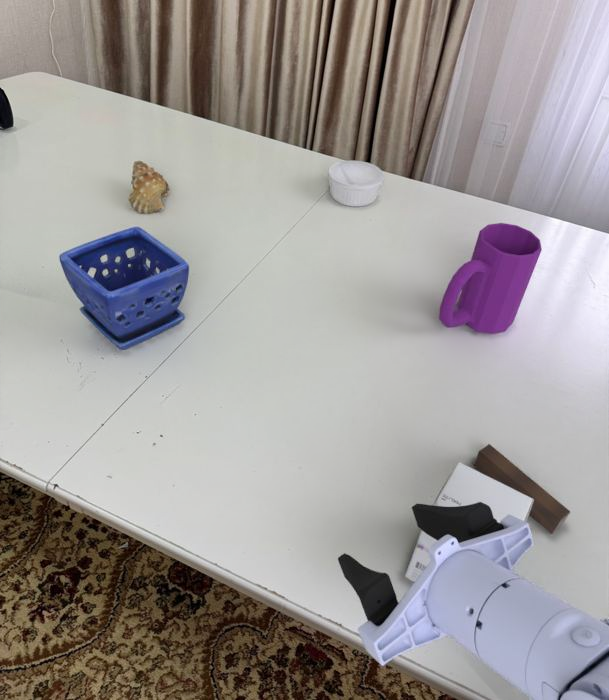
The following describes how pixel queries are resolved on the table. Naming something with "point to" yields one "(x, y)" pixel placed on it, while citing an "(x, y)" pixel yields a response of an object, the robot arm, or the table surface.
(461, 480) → the ink box
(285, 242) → the table surface
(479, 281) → the mug
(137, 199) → the seashell
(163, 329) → the flower pot
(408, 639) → the robot arm
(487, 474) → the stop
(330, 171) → the ramekin
